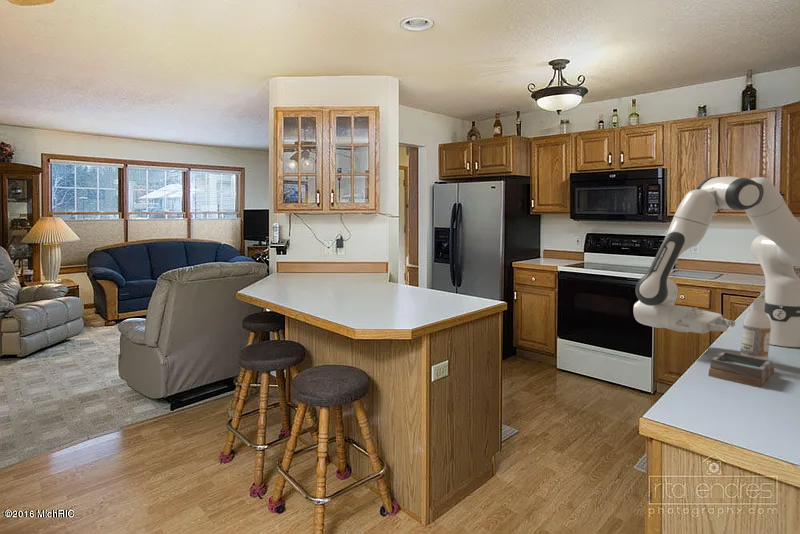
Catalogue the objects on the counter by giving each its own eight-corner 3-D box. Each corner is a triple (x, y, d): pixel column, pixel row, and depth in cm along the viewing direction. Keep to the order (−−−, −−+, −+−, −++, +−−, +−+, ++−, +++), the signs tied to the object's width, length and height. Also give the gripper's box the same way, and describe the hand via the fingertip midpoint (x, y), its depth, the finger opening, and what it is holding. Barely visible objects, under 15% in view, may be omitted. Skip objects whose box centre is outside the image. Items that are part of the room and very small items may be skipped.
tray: (725, 362, 150) (727, 348, 149) (773, 372, 141) (775, 357, 141) (708, 375, 138) (709, 360, 137) (759, 387, 129) (761, 371, 128)
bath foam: (761, 366, 146) (768, 302, 144) (736, 360, 152) (742, 298, 150) (771, 362, 150) (777, 299, 148) (745, 356, 156) (751, 296, 154)
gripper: (673, 314, 158) (722, 322, 148) (693, 306, 172) (739, 312, 161) (672, 333, 159) (720, 342, 149) (692, 323, 172) (738, 330, 162)
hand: (730, 326), depth 155 cm, fingers open, 8 cm apart
